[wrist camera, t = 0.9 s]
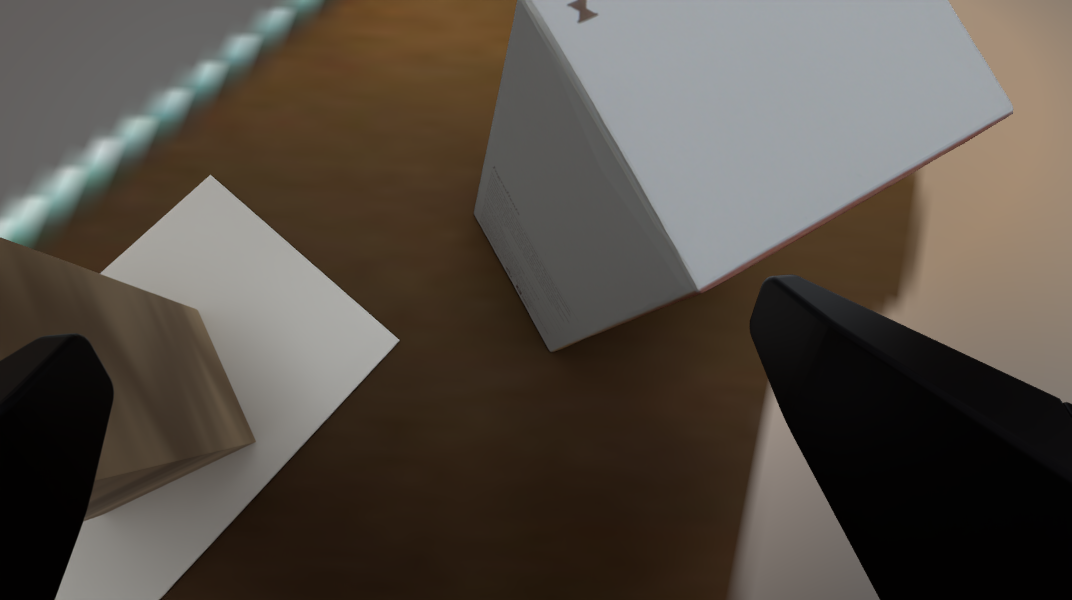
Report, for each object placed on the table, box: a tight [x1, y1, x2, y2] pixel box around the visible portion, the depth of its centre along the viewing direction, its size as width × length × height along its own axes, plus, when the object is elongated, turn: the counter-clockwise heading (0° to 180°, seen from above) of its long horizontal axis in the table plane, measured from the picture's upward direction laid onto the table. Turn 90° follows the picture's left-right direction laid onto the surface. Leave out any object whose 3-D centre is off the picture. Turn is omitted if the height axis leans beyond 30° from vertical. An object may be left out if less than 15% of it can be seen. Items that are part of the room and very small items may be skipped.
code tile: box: [55, 175, 400, 600], centre depth 20 cm, size 14×9×1 cm, turn 140°
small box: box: [474, 0, 1013, 352], centre depth 17 cm, size 8×6×13 cm
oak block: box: [0, 238, 256, 521], centre depth 14 cm, size 5×5×12 cm
